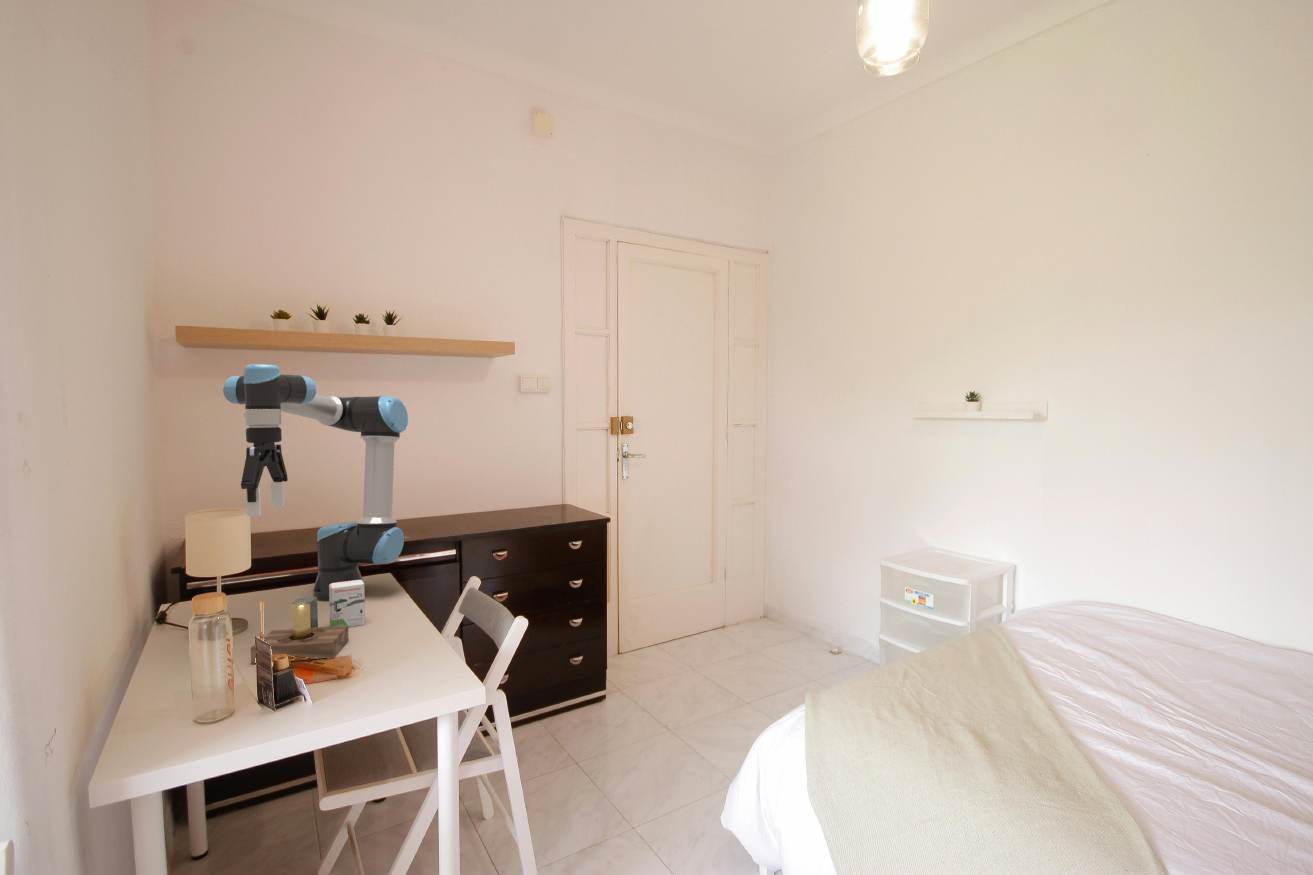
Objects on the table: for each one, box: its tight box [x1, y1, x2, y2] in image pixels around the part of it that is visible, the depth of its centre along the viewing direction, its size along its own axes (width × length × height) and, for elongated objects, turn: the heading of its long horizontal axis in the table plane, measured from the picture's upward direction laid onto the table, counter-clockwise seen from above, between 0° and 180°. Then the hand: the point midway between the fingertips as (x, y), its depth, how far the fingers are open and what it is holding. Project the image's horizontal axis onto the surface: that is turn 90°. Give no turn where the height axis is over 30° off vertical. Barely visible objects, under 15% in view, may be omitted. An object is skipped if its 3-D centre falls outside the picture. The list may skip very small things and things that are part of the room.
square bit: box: [291, 596, 319, 628], centre depth 165 cm, size 4×4×10 cm
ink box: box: [328, 580, 366, 628], centre depth 174 cm, size 9×5×12 cm, turn 123°
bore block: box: [250, 625, 350, 665], centre depth 154 cm, size 12×18×4 cm, turn 100°
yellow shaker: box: [290, 602, 311, 640], centre depth 154 cm, size 4×4×12 cm
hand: (266, 511), depth 156 cm, fingers open, 13 cm apart
